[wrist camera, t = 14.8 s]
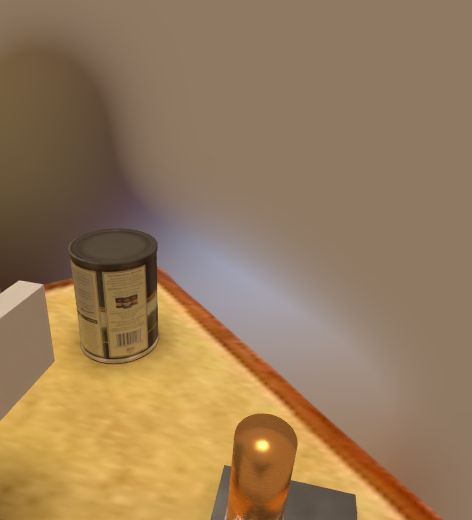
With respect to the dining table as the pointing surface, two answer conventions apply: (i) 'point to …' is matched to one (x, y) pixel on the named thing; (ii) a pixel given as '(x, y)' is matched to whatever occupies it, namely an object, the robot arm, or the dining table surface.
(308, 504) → the plate
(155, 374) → the dining table surface
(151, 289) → the coffee can
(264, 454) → the sliding jaw
